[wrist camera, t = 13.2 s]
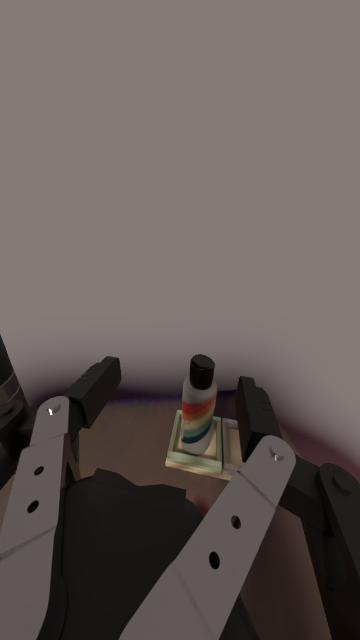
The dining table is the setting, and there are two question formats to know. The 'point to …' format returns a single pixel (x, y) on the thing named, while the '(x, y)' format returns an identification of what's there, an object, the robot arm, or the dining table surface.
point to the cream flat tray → (209, 450)
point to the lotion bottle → (198, 405)
